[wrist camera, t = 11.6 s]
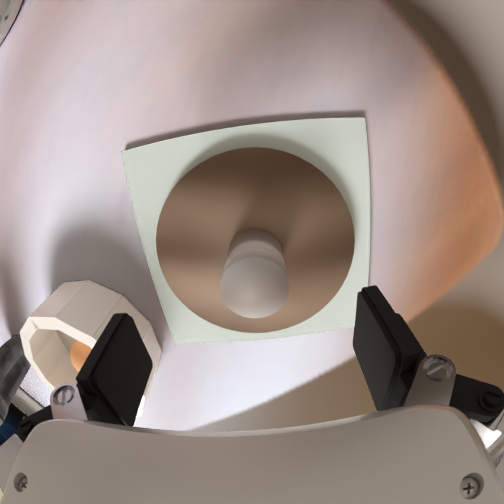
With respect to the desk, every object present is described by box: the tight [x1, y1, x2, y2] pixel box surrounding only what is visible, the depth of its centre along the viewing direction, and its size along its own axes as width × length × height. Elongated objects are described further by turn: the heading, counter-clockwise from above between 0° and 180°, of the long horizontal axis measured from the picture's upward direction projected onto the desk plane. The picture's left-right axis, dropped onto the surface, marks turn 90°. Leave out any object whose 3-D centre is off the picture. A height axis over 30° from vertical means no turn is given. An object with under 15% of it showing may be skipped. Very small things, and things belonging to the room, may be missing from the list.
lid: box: [156, 147, 355, 333], centre depth 17 cm, size 14×14×6 cm
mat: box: [121, 118, 370, 345], centre depth 20 cm, size 17×17×1 cm
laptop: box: [0, 387, 44, 446], centre depth 29 cm, size 18×12×13 cm
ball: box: [70, 340, 92, 372], centre depth 22 cm, size 4×4×4 cm
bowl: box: [20, 280, 162, 417], centre depth 22 cm, size 13×13×6 cm
